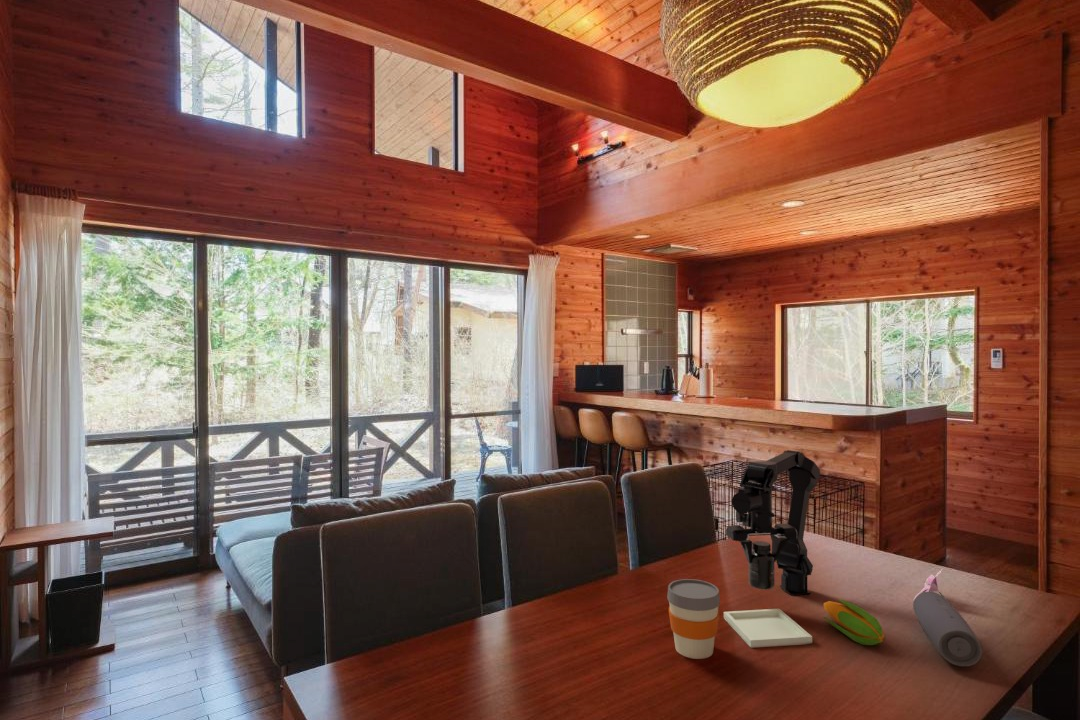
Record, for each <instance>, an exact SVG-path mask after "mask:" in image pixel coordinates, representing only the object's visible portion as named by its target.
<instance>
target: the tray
mask: <svg viewBox="0 0 1080 720" xmlns="http://www.w3.org/2000/svg"><path fill="white" fill-rule="evenodd" d="M723 619H724V620H725V621H726V622H727V624H728V625H729V626H730V627H731V628H732V629H733V630H734V631H735V633H737V634H738V635H739V637H740V638H741V639H742V640H743V641H744V642H745V643H746V644H747V646H748V647H749V648H752V649H753V648H765V647H766V648H767V647H768V648H769V647H783V646H784V647H785V646H797V645H811V644H812V645H813V636H812V634H810V633H808V632H807V630H805V629H804V628H803V627H802V626H800V625H799V624H798V623H797V621H795V620H793V618H791V617H790V616H789V615H788V614H786V613H785V612H784V611H783V610H782V609H781V608H768V609H751V610H734V611H732V610H731V611H723Z"/></svg>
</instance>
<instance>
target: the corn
mask: <svg viewBox="0 0 1080 720" xmlns="http://www.w3.org/2000/svg"><path fill="white" fill-rule="evenodd" d="M838 601H839V602H836V601H832V600H831V601H830V600H828V601H826V602H823V609H824V610H825V612H826V613H827V615H828V616H829V617H830V618H831V619H832V620H833V621H832V620H830V619H829V618H827V617H826V616H824V615H823V618H824V620H826V621H827V622H828V623H829V624H830V625H831V626H832V627H834V628H835V629H836V630H838V631H840V632H841V633H842V634H844V635H846V636H847V638H850V639H851V640H852V641H854V642H856V643H858V644H860V645H862V646H875V645H880V644H882V643H883V641H884V639H885V636H886V635H885V633H884V630H883V628H882V626H881V624H880V621H879V620H878V619H877V618H876V617H875V616H873V615H872V614H871V613H869V612H868V611H866V610H865V609H864V608H861V607H860V606H858V605H856V604H854V603H852V602H849V601H846V600H842V599H838ZM836 623H837V624H836Z"/></svg>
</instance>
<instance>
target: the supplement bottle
mask: <svg viewBox="0 0 1080 720" xmlns="http://www.w3.org/2000/svg"><path fill="white" fill-rule="evenodd" d="M770 543H771V542H770ZM770 543H769V542H767V541H763V540H755V541H752V560H751V563H749V562H748V584H749V585H750V586H751V587H753V588H754V589H759V590H772V589H774V588H775V562H774V556H773V554H772V548H771V544H770Z"/></svg>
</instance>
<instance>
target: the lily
mask: <svg viewBox="0 0 1080 720" xmlns="http://www.w3.org/2000/svg"><path fill="white" fill-rule="evenodd" d="M943 570H944V568H942V569H940V570H939V571H938V572H937V573H936V574H935V576H934V574H930V575H929V576H928V577H927V578H926V579H925V580H923V583H924V587H923V588H922V589H921V590H920V592H918V593H917V594H916V595H914V596H915V597H914V598H913V599H912V602H914V600H915V598H916V597H917V596H918V595H919V594H921V593H923V592H936V593H938V594H940V595H941V596H943V597H944V595H943V594H942V592H940V591H939V586H938V577H939V575H940V574H941V573H942V571H943ZM944 598H945V597H944Z"/></svg>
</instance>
